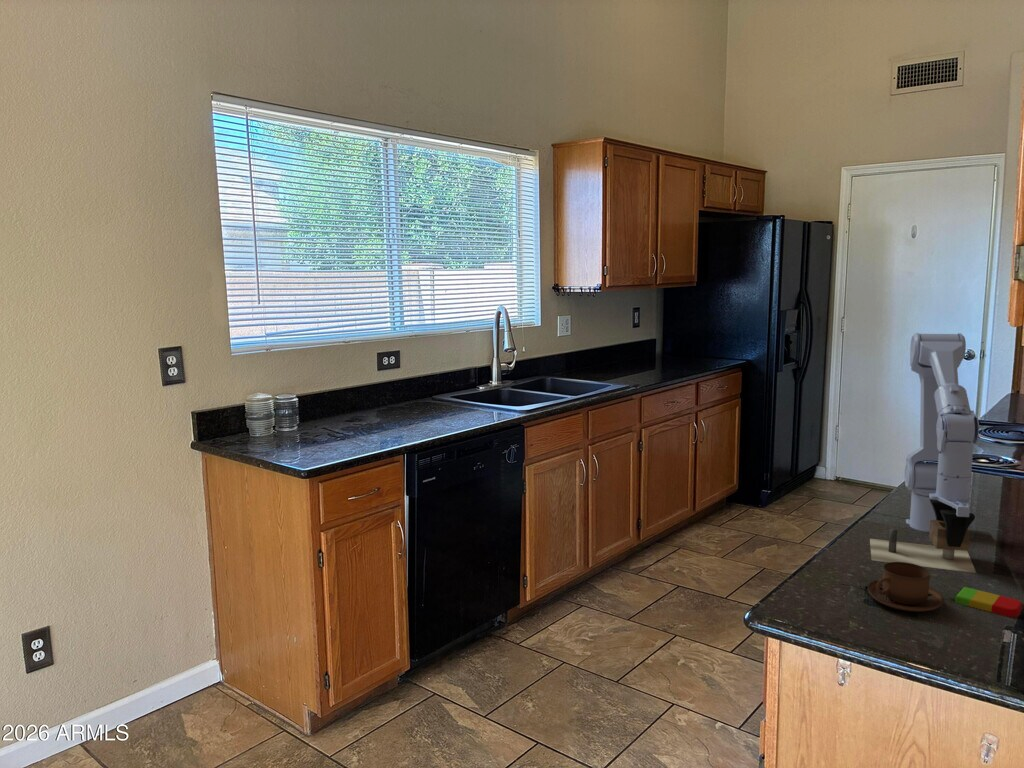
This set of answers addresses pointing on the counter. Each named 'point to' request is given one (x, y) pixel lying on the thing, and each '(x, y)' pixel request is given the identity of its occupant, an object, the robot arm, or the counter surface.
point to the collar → (939, 536)
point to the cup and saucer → (906, 588)
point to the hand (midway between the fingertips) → (949, 540)
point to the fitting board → (919, 554)
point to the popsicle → (989, 602)
